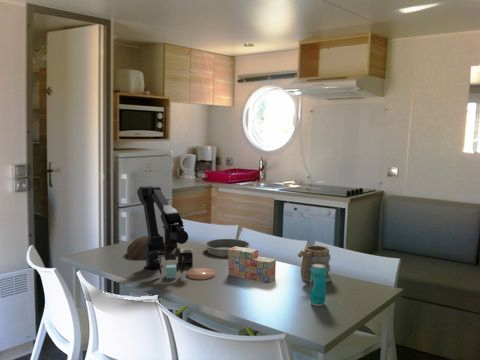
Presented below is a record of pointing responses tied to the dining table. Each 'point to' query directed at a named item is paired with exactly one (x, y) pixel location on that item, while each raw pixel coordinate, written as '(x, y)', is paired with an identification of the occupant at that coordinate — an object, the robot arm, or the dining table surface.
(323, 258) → the tankard
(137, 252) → the decorative dome
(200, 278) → the dish
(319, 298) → the beverage can
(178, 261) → the brown wooden open box
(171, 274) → the block
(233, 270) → the stack of blocks
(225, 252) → the cake pan
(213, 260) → the dining table surface
